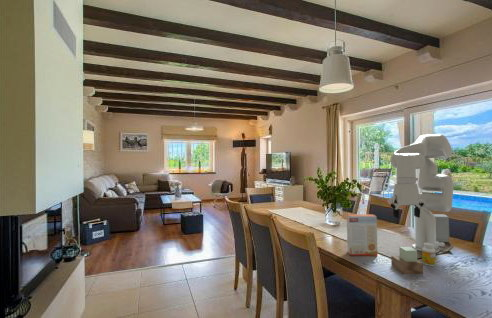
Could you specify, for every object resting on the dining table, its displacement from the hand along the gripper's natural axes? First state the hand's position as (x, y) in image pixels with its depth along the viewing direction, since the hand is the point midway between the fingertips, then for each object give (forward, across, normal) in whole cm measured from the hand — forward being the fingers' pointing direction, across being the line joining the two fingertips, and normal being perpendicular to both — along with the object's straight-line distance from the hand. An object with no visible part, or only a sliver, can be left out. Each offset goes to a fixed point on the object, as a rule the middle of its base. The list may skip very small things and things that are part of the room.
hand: (406, 217), depth 124 cm
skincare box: (+25, -42, -36) cm, 61 cm away
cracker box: (+24, +14, -17) cm, 32 cm away
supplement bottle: (+24, -12, -3) cm, 27 cm away
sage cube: (+19, +2, +3) cm, 19 cm away
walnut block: (+24, +2, +3) cm, 24 cm away
